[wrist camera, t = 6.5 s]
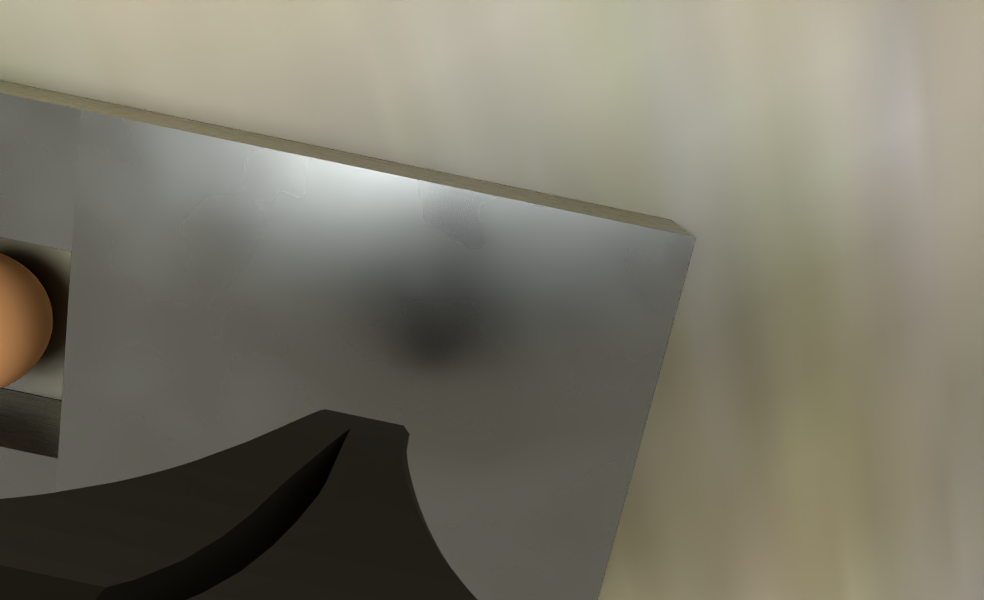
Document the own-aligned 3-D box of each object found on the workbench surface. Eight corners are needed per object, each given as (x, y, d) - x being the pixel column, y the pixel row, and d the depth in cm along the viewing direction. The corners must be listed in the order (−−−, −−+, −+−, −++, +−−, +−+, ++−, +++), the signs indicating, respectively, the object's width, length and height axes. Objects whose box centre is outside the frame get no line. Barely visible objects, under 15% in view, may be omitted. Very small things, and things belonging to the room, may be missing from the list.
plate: (671, 219, 16) (695, 238, 14) (569, 607, 19) (576, 679, 16) (-134, 52, 16) (-248, 41, 14) (-133, 462, 19) (-231, 514, 16)
